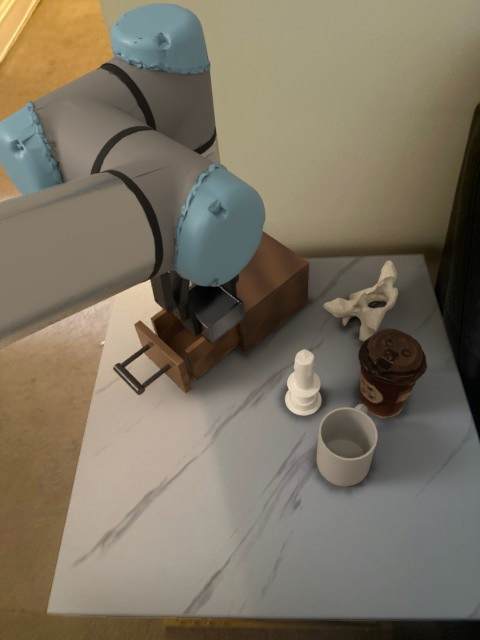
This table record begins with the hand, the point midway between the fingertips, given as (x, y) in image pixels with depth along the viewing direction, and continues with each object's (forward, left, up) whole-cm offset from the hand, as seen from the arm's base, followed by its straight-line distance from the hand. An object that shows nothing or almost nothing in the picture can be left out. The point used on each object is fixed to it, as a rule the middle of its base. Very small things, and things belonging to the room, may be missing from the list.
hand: (210, 314), depth 75 cm
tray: (0, 0, 0) cm, 0 cm away
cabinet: (+12, +6, -15) cm, 20 cm away
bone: (+23, -8, -15) cm, 29 cm away
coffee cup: (+13, -20, -15) cm, 28 cm away
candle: (+5, -12, -15) cm, 20 cm away
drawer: (-3, +6, -14) cm, 16 cm away
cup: (+3, -22, -15) cm, 27 cm away
